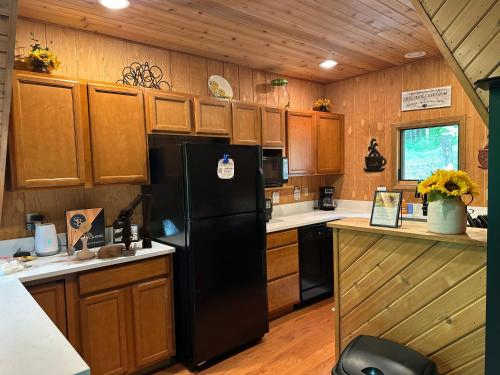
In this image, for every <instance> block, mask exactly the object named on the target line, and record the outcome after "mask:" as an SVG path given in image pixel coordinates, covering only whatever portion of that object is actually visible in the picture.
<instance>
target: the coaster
mask: <svg viewBox="0 0 500 375" xmlns="http://www.w3.org/2000/svg"><path fill="white" fill-rule="evenodd" d="M122 245H123V250H124V249H126V247H125V244H122ZM129 249H133V244H132V243H131V244H130V247H129Z"/></svg>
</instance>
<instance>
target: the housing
mask: <svg viewBox="0 0 500 375" xmlns="http://www.w3.org/2000/svg"><path fill="white" fill-rule="evenodd" d="M123 245H124V244H115V245H102V246H101V247H100V248H99V249H98V250H97V259H98V260H102V259H113V258H114V259H115V258H122V256H121V250H124V249H123Z"/></svg>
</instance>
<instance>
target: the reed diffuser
mask: <svg viewBox="0 0 500 375" xmlns="http://www.w3.org/2000/svg"><path fill="white" fill-rule="evenodd" d="M62 229H63V232H64V234H65V237H66V240H67V242H68V247H67V250H66V253H67V255H68V256H69V255H71V256H72V255H75V254H76V255H77V254H78V253H79V252H80V251H77V252H76V248H75V247H73V240H74V237H75V233H76V231H74V233H73V231H71V232H70V231H67V233H68V235H70V233H71V236H70V237H68V236H67V234H66V232H65V228H62ZM67 229H69V227H68V226H67ZM76 229H77V227H75V228H74V230H76ZM69 232H70V233H69ZM70 238H71V239H70ZM70 241H71V243H70Z"/></svg>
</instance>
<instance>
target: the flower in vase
mask: <svg viewBox="0 0 500 375" xmlns="http://www.w3.org/2000/svg"><path fill="white" fill-rule="evenodd" d="M91 228H92V223H91V221H90V222H89V221H87V220H86V221H83V222H81V224H80V225H79V226H78V229H79V232H80V235H83V237H80V238H79V239H80V240H81V242H82V249H81V250H80V251H79V253H78V254H77V253H76V256H75V258H76V259H78V260H86V259H87V260H88V259H92V258H93V257H95V255H96V254H95V253H94V252H93V251H91V250H90V249H89V248H88V245H87V244H88V243H87V242H88V239H89V237H92V236H93V234H92V233H91V232H89V231H90V230H91ZM85 233H86V234H85Z"/></svg>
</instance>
